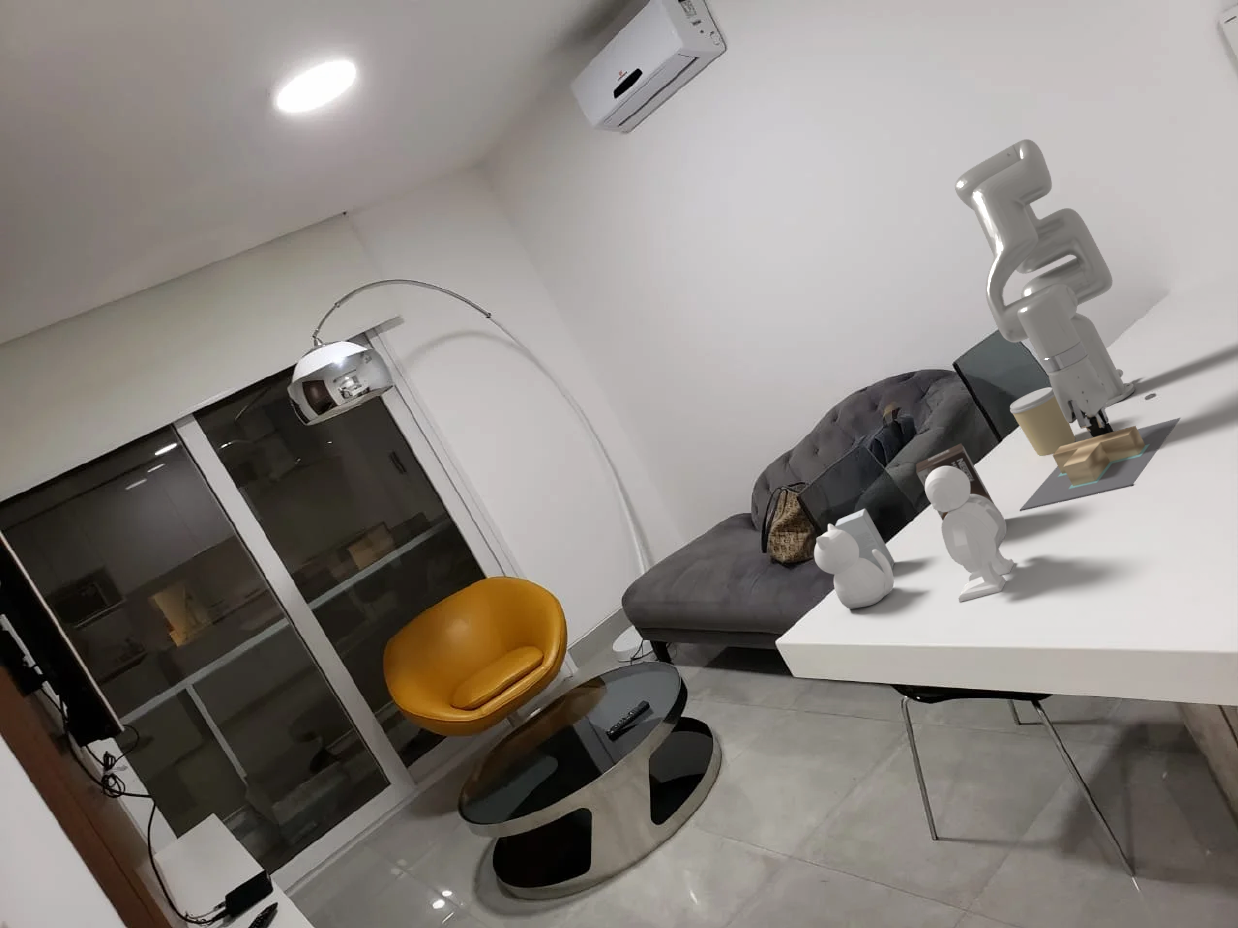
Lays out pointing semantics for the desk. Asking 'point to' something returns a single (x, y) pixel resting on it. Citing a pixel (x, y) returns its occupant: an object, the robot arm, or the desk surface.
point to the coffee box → (958, 460)
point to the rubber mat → (1112, 479)
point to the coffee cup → (1042, 421)
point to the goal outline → (1107, 468)
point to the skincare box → (865, 536)
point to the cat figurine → (852, 569)
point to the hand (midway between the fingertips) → (1108, 445)
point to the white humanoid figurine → (970, 531)
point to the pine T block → (1097, 454)
